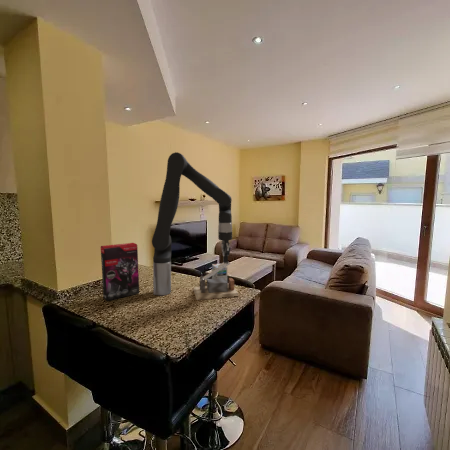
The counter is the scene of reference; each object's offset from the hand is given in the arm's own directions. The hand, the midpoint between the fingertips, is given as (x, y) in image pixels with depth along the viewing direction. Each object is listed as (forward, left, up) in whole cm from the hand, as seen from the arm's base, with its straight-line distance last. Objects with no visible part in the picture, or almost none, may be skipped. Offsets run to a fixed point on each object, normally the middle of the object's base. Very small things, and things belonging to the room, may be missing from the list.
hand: (225, 262), depth 136 cm
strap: (-5, 0, -5) cm, 8 cm away
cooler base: (-6, 0, -17) cm, 18 cm away
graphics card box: (-55, +6, -17) cm, 58 cm away
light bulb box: (0, +18, -17) cm, 25 cm away
